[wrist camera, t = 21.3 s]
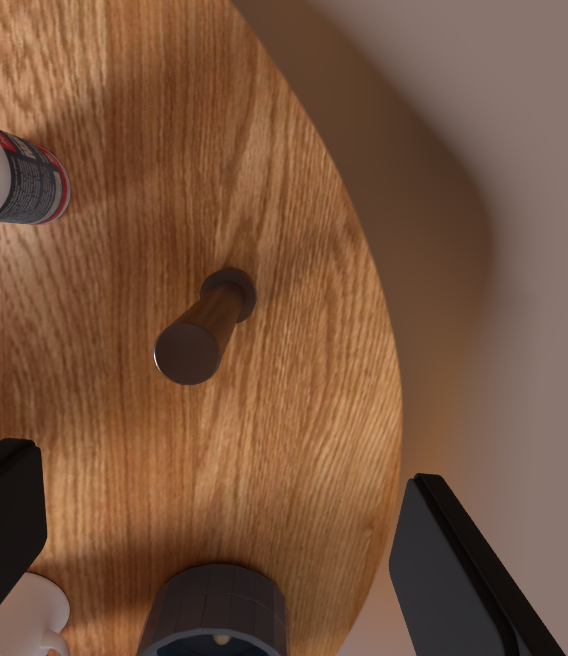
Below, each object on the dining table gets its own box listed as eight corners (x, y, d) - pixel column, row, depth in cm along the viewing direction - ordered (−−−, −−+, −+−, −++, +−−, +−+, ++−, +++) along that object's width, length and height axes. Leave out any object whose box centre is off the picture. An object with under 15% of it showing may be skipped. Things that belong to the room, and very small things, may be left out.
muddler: (257, 269, 25) (243, 303, 12) (256, 321, 26) (241, 407, 13) (203, 266, 25) (126, 297, 12) (204, 318, 26) (133, 404, 13)
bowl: (294, 561, 32) (300, 631, 27) (280, 662, 36) (282, 744, 30) (152, 554, 32) (125, 625, 26) (150, 658, 35) (127, 742, 29)
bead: (235, 647, 31) (220, 645, 32) (240, 619, 33) (226, 618, 34) (219, 643, 30) (205, 641, 32) (225, 614, 32) (211, 613, 33)
